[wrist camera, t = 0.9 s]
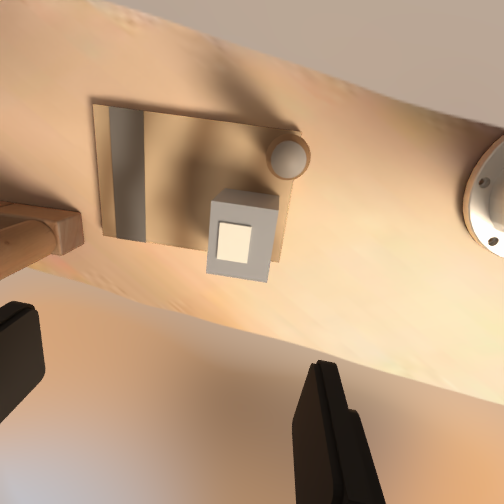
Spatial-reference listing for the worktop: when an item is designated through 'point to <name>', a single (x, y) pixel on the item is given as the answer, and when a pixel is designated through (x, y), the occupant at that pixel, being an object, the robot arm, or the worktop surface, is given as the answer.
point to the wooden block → (35, 234)
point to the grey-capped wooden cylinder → (288, 157)
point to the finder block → (242, 234)
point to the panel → (178, 174)
